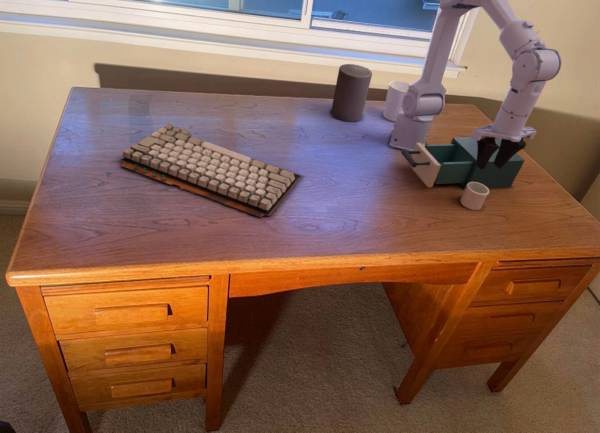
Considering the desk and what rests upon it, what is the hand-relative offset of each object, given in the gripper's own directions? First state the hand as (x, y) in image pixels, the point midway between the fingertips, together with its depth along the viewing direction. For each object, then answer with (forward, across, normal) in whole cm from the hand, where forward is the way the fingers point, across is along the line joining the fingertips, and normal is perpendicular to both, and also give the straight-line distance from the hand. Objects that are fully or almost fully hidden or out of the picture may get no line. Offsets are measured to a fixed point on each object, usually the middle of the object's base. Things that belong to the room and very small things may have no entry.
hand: (488, 166), depth 96 cm
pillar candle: (+11, -15, +46) cm, 49 cm away
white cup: (+11, 0, +44) cm, 45 cm away
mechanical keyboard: (+11, -59, +18) cm, 63 cm away
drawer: (+10, -5, +11) cm, 15 cm away
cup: (+10, 0, 0) cm, 10 cm away
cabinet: (+10, +9, +11) cm, 18 cm away
